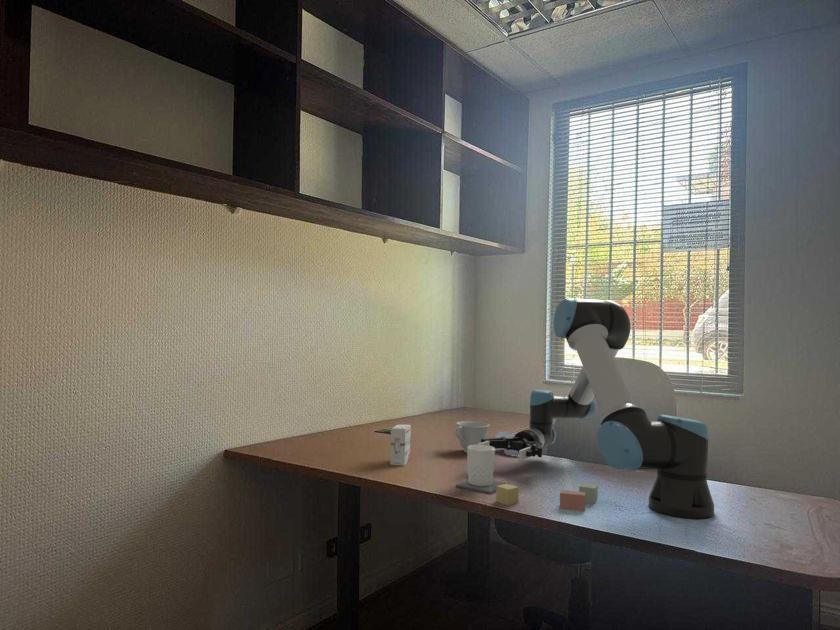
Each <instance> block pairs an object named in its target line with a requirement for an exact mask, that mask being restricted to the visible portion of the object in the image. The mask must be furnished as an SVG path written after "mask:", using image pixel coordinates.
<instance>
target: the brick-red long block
mask: <svg viewBox="0 0 840 630" xmlns="http://www.w3.org/2000/svg"><path fill="white" fill-rule="evenodd" d="M559 509H562V510H569V511H570V510H571V511H579V512H585V511H586V510H585V509H586V503H585V492H579V491H577V490H566V489H560V492H559Z"/></svg>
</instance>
